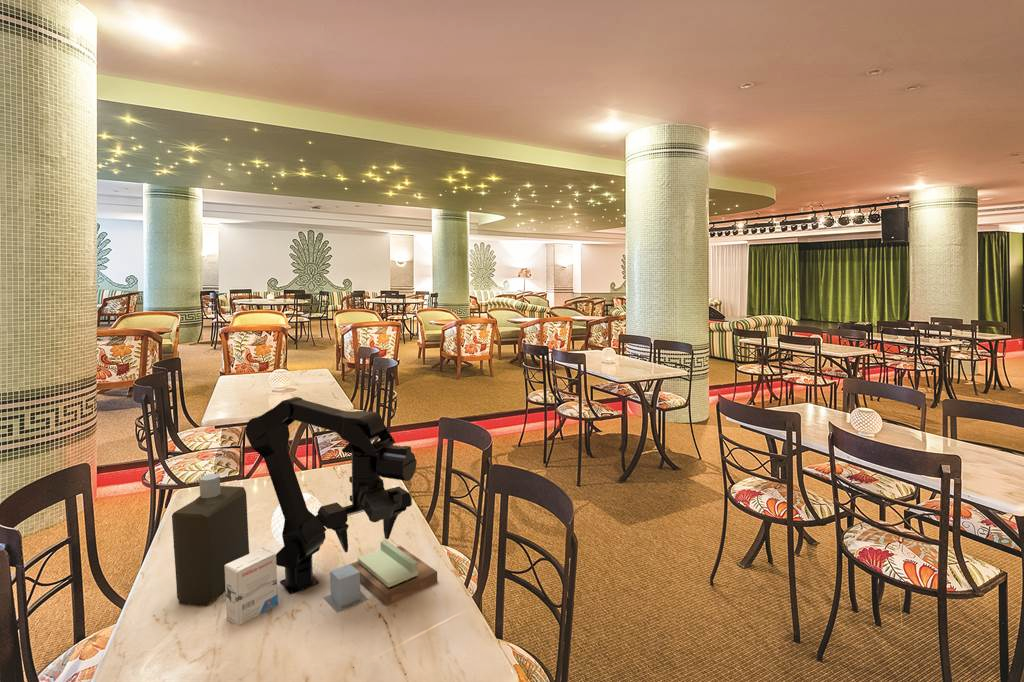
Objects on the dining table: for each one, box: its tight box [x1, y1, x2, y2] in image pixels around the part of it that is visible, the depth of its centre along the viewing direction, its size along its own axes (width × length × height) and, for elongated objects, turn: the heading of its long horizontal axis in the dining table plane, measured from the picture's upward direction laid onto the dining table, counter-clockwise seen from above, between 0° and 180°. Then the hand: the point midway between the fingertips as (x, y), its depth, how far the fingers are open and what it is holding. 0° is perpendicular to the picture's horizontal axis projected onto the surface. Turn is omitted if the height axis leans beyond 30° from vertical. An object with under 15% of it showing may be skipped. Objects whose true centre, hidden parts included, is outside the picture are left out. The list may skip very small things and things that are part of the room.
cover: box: [357, 539, 418, 589], centre depth 121 cm, size 14×7×3 cm, turn 43°
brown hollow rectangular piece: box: [350, 545, 438, 606], centre depth 123 cm, size 16×13×3 cm
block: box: [329, 563, 361, 607], centre depth 115 cm, size 4×4×6 cm
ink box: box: [224, 547, 279, 626], centre depth 110 cm, size 9×5×12 cm, turn 147°
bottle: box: [171, 473, 250, 607], centre depth 119 cm, size 8×16×25 cm, turn 174°
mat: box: [322, 591, 369, 613], centre depth 115 cm, size 7×7×1 cm
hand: (366, 544), depth 114 cm, fingers open, 9 cm apart
